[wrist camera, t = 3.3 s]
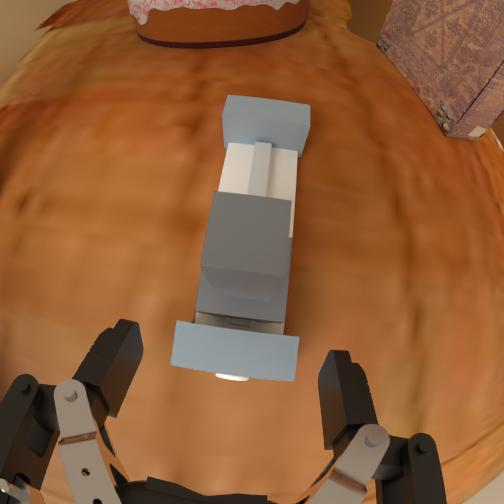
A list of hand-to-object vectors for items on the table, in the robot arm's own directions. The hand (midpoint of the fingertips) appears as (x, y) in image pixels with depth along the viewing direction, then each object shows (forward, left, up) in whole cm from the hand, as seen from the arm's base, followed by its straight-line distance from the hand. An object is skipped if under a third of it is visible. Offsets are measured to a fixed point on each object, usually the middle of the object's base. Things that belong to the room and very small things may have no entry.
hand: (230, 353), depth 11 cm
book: (-24, +45, -12) cm, 52 cm away
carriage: (-4, +3, -10) cm, 11 cm away
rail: (-9, +5, -11) cm, 15 cm away
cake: (-56, +18, -12) cm, 60 cm away
